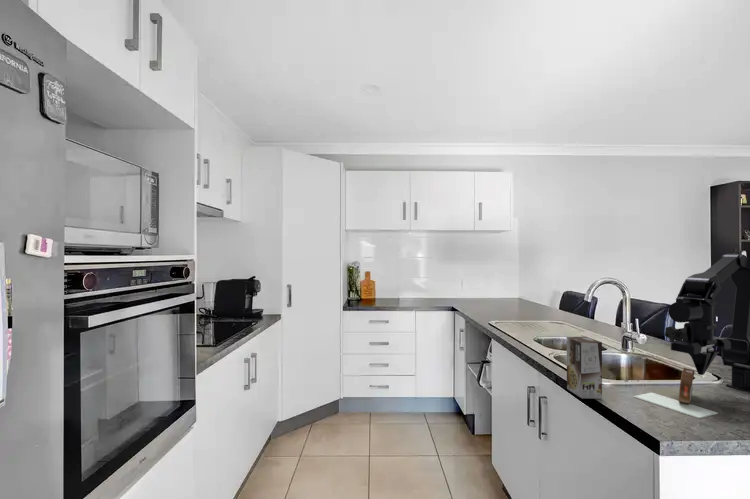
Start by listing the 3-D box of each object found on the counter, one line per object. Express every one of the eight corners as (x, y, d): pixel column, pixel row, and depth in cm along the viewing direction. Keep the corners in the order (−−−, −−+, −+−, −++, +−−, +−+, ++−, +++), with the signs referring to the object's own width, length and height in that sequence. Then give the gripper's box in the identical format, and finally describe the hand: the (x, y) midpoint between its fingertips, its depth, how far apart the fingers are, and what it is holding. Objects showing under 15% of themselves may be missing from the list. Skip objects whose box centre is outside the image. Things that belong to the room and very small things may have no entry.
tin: (681, 392, 125) (682, 364, 125) (694, 395, 123) (695, 366, 123) (677, 405, 113) (678, 374, 113) (692, 408, 111) (692, 376, 111)
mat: (651, 393, 124) (651, 392, 124) (717, 413, 109) (717, 412, 109) (633, 397, 121) (633, 396, 121) (699, 418, 105) (699, 417, 105)
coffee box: (603, 398, 120) (603, 342, 120) (580, 399, 119) (580, 342, 120) (586, 388, 129) (586, 335, 129) (565, 388, 129) (565, 335, 129)
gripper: (690, 314, 132) (690, 364, 132) (651, 318, 125) (651, 370, 124) (731, 320, 122) (731, 373, 122) (692, 324, 114) (693, 381, 114)
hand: (700, 374), depth 121 cm, fingers closed
